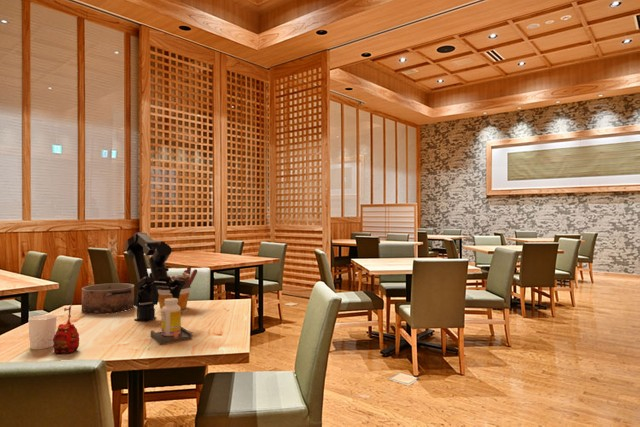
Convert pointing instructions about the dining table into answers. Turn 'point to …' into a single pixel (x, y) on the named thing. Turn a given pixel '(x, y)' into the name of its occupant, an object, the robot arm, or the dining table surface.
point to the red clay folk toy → (66, 337)
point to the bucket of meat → (184, 291)
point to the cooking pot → (107, 298)
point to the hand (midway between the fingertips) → (166, 304)
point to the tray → (170, 339)
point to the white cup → (42, 331)
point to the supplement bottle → (170, 317)
